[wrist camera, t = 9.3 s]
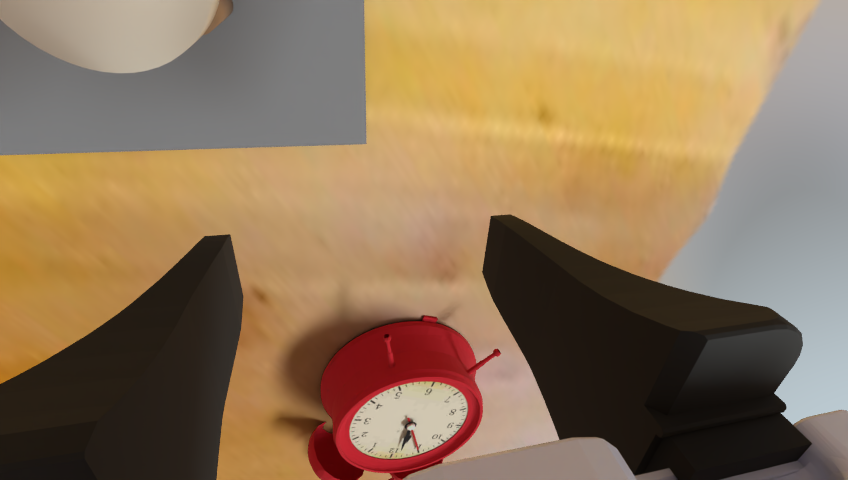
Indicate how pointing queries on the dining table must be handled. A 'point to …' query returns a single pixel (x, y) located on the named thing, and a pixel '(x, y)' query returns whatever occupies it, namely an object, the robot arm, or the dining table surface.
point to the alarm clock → (397, 401)
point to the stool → (114, 29)
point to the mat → (199, 88)
